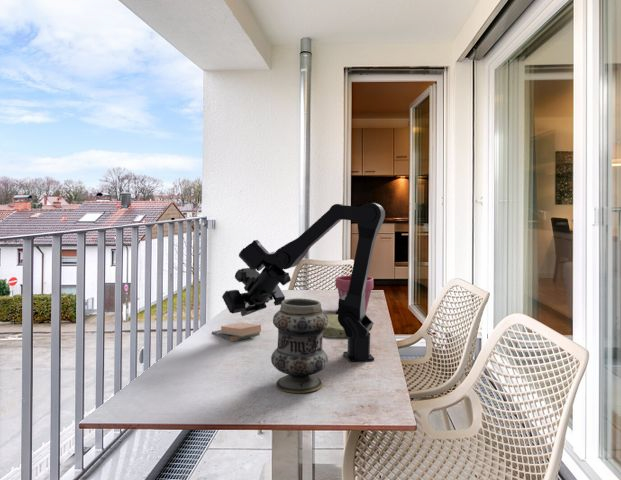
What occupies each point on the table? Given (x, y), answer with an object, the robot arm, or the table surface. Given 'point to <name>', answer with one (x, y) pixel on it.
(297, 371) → the apothecary jar
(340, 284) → the plant pot
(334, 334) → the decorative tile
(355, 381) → the table surface
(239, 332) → the tile
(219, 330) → the mat
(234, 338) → the stop strip
